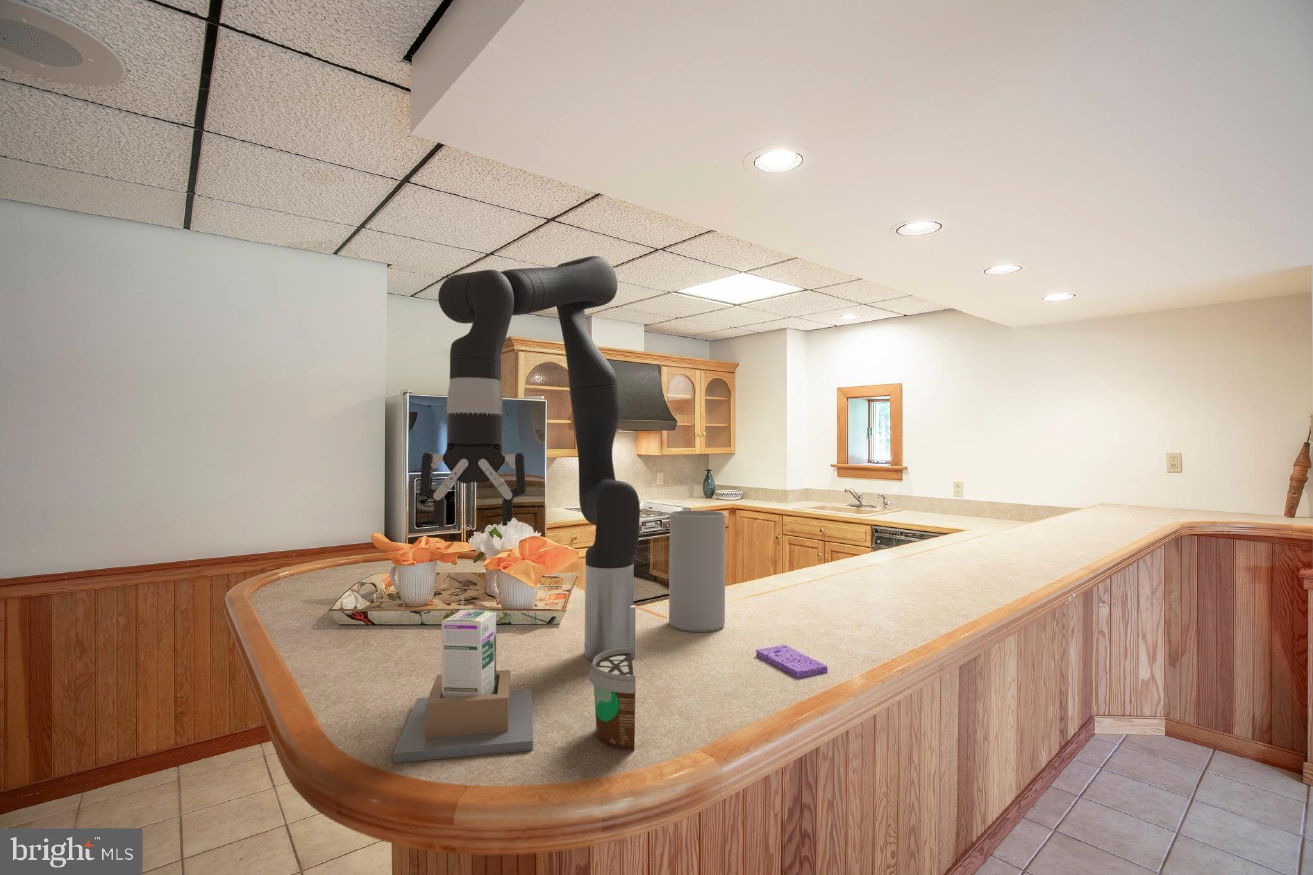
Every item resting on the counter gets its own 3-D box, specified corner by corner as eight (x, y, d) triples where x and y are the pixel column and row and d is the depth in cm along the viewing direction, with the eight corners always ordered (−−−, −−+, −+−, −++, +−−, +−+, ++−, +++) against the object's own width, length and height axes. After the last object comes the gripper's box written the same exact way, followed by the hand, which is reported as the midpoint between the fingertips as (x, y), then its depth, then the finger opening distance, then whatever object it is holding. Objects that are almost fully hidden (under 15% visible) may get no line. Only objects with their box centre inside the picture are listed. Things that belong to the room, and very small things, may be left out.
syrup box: (481, 728, 82) (482, 620, 82) (439, 725, 82) (441, 618, 83) (496, 710, 87) (498, 609, 88) (457, 707, 88) (459, 608, 88)
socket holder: (531, 697, 95) (532, 660, 95) (532, 750, 78) (533, 705, 78) (417, 705, 91) (417, 668, 92) (392, 763, 75) (393, 716, 75)
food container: (589, 715, 89) (589, 646, 89) (630, 714, 89) (631, 645, 90) (586, 757, 77) (587, 678, 77) (635, 756, 77) (635, 677, 77)
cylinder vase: (665, 617, 141) (666, 510, 141) (718, 616, 142) (719, 510, 143) (672, 634, 128) (673, 516, 129) (730, 632, 130) (731, 516, 130)
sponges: (784, 653, 118) (784, 644, 118) (829, 675, 107) (829, 664, 107) (754, 658, 115) (755, 648, 115) (797, 681, 104) (797, 670, 104)
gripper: (526, 414, 91) (525, 522, 91) (426, 412, 88) (424, 523, 88) (526, 411, 84) (525, 528, 84) (417, 409, 81) (415, 530, 80)
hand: (473, 526), depth 86 cm, fingers open, 8 cm apart
